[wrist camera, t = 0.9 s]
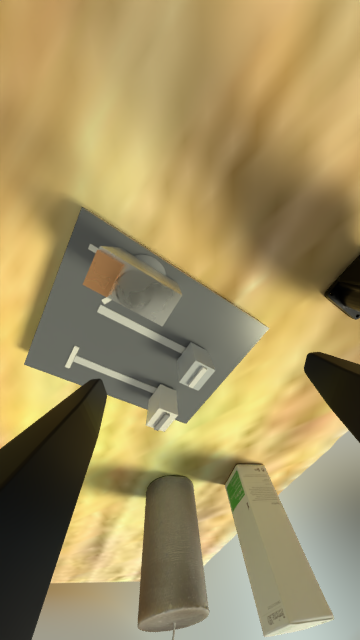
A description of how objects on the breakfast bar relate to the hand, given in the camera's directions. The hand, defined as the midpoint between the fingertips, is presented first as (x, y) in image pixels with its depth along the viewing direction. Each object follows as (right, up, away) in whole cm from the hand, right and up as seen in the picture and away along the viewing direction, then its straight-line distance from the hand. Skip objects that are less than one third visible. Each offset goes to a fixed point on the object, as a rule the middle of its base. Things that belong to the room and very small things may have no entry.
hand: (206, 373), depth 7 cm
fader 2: (0, -2, +13) cm, 13 cm away
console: (-5, 0, +14) cm, 15 cm away
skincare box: (+12, -30, +28) cm, 43 cm away
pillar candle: (-3, -33, +28) cm, 43 cm away
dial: (-5, +6, +9) cm, 12 cm away
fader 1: (-3, -8, +15) cm, 17 cm away
